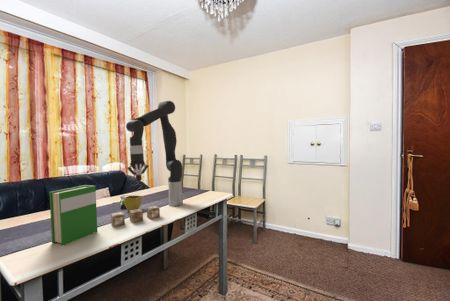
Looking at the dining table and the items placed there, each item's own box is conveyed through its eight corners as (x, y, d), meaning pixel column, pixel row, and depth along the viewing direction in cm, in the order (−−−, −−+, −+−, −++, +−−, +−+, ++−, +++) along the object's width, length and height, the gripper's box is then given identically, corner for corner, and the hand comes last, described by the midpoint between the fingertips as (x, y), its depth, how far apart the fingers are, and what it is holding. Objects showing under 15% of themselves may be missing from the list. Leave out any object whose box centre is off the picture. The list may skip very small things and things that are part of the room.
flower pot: (142, 208, 160) (142, 195, 159) (136, 211, 151) (136, 198, 151) (130, 208, 161) (130, 195, 160) (124, 211, 152) (123, 198, 152)
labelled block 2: (156, 215, 144) (156, 205, 144) (159, 217, 139) (159, 207, 138) (146, 217, 140) (146, 207, 140) (150, 219, 135) (149, 209, 135)
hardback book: (62, 245, 102) (60, 193, 101) (51, 243, 105) (49, 192, 104) (97, 231, 119) (95, 185, 118) (87, 229, 121) (85, 185, 120)
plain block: (140, 218, 138) (139, 208, 138) (143, 221, 133) (142, 210, 133) (129, 220, 135) (129, 210, 134) (132, 223, 130) (131, 212, 129)
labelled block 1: (122, 221, 132) (122, 211, 132) (124, 225, 127) (124, 214, 127) (111, 224, 129) (110, 213, 129) (113, 227, 124) (112, 216, 124)
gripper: (145, 152, 146) (147, 178, 147) (123, 153, 138) (125, 181, 139) (149, 152, 140) (151, 180, 141) (126, 154, 132) (129, 183, 133)
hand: (138, 180), depth 140 cm, fingers closed
